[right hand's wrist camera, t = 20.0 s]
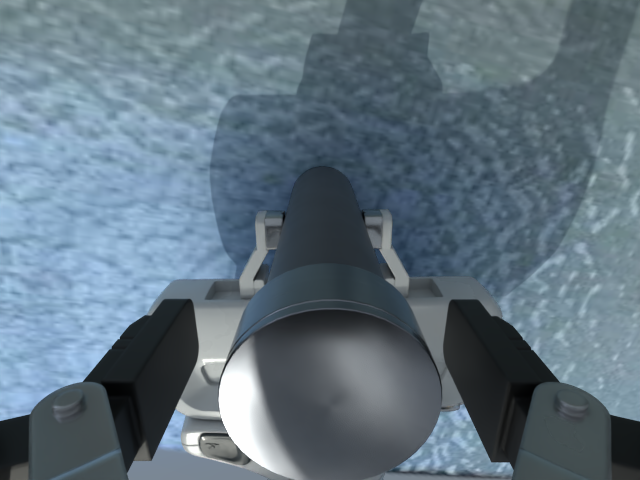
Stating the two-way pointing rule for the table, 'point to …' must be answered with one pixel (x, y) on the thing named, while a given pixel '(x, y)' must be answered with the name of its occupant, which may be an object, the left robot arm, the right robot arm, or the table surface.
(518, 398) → the right robot arm
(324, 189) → the dark grey cylinder
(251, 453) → the lid
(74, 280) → the table surface
